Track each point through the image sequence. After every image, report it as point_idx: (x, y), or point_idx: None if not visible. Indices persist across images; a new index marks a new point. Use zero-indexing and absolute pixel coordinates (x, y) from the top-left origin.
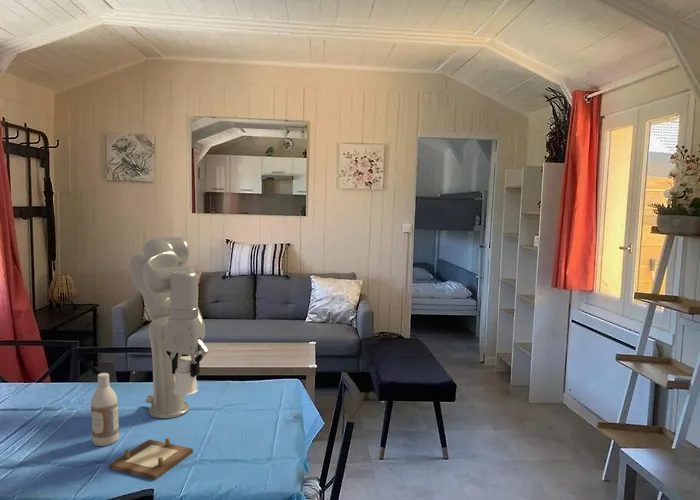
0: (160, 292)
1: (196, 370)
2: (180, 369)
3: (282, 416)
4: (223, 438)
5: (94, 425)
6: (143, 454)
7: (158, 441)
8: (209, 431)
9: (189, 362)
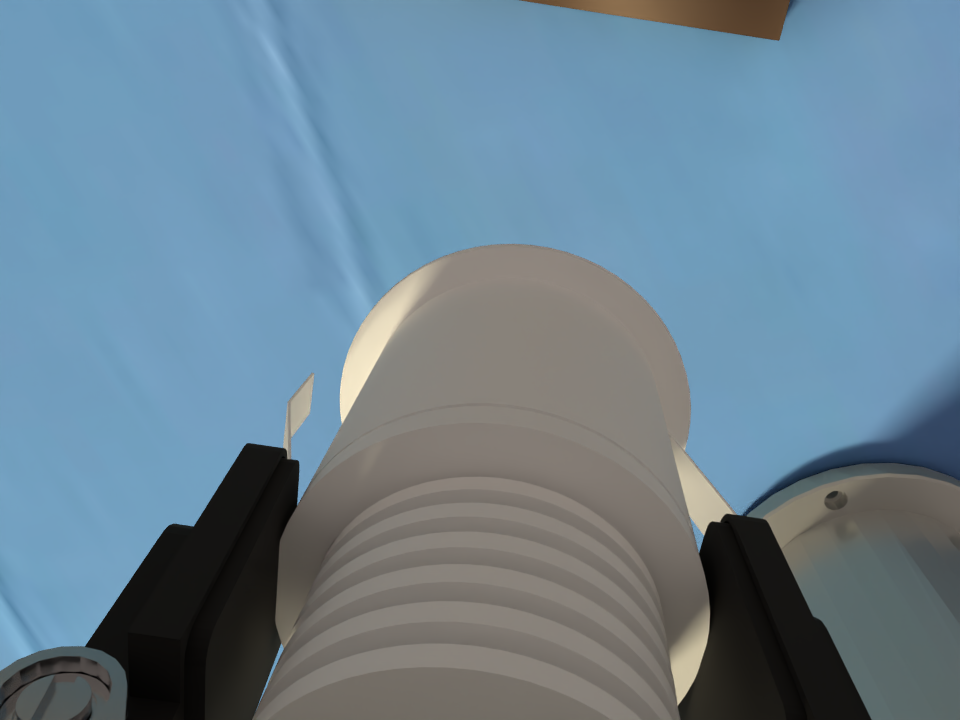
0: None
1: (149, 565)
2: (518, 514)
3: (9, 653)
4: (209, 266)
5: None
6: None
7: (672, 21)
8: None
9: None
